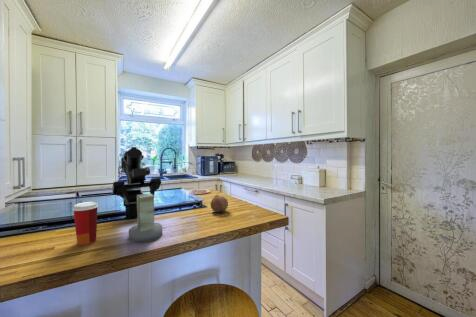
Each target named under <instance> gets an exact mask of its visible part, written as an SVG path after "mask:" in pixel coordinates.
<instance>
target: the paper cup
mask: <svg viewBox="0 0 476 317" xmlns="http://www.w3.org/2000/svg"><path fill="white" fill-rule="evenodd" d="M98 207H99V205H98V203H97V201H86V202H85V201H84V202H80V203H79V202H78V203H76V204H74V205H73V206H72V209H71V211H73V219H74V227H75V237H76V244H77V245H78V246H86V245H90V244H94V243H95V242H96V240H97V231H98V230H97V229H98V228H97V227H98Z"/></svg>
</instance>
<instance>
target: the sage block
mask: <svg viewBox="0 0 476 317" xmlns="http://www.w3.org/2000/svg"><path fill="white" fill-rule="evenodd" d="M136 219H137V223H136V224H137V225H138V229H139V230H140V231H146V230H150V229H154V223H155V194H154V195H152V194H151V193H150V192H149V193H143V194H141V195H137V218H136Z"/></svg>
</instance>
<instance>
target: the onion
mask: <svg viewBox="0 0 476 317" xmlns="http://www.w3.org/2000/svg"><path fill="white" fill-rule="evenodd" d="M228 207H229V202H228V199H227V198H226V197H225V196H223V195H222V196H220V195H217V194H216V195H215V196H213V198H212V199H211V201H210V208H211V210H212V211H213V212H215V213H218V214H222V213H225V211H226V210H227V209H228Z"/></svg>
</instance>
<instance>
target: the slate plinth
mask: <svg viewBox="0 0 476 317" xmlns="http://www.w3.org/2000/svg"><path fill="white" fill-rule="evenodd" d="M162 235H163V225H162V224H161V223H159V222H154V229H150V230H146V231H140V230H139V229H138V225H136V224H135V225H133V226H132V227H130V228H129V229H128V241H129V242H133V243H139V244H141V243H147V242H151V241H152V242H153V241H155V240H157V239H159V238H161V237H162Z"/></svg>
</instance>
